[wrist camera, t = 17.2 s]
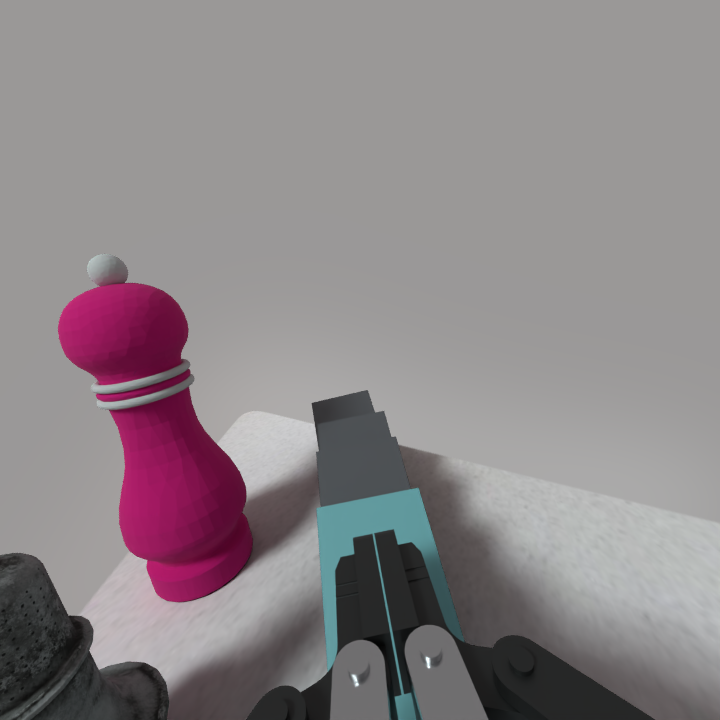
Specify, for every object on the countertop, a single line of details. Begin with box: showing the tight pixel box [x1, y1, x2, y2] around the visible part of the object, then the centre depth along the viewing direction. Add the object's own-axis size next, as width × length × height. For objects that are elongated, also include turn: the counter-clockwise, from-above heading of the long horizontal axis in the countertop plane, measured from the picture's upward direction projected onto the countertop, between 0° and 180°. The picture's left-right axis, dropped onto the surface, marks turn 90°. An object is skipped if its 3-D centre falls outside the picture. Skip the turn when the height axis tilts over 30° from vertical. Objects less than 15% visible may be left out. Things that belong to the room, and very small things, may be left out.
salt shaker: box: [0, 553, 169, 720], centre depth 11 cm, size 6×6×12 cm
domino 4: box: [317, 488, 465, 720], centre depth 14 cm, size 2×5×10 cm
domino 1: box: [312, 390, 375, 451], centre depth 28 cm, size 2×5×10 cm
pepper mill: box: [58, 254, 253, 602], centre depth 21 cm, size 7×7×20 cm
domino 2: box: [318, 411, 391, 451], centre depth 23 cm, size 2×5×10 cm
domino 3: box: [316, 437, 411, 507], centre depth 19 cm, size 2×5×10 cm
